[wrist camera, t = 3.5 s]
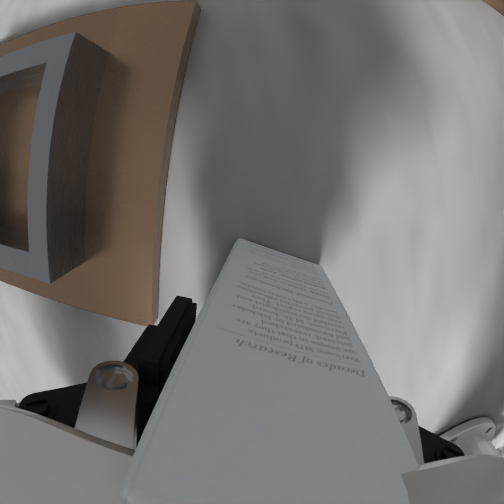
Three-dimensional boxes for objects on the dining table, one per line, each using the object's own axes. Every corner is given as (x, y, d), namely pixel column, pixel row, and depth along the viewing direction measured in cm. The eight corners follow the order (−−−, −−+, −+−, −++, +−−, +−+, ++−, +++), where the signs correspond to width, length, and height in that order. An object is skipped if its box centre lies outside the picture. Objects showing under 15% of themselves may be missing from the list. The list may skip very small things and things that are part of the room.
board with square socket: (200, 9, 10) (180, -34, 6) (157, 318, 15) (129, 362, 11) (-17, 59, 10) (-51, 53, 6) (-32, 259, 14) (-64, 275, 11)
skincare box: (279, 360, 15) (290, 586, 3) (199, 338, 15) (125, 562, 3) (324, 258, 13) (462, 514, 2) (231, 227, 13) (100, 507, 2)
